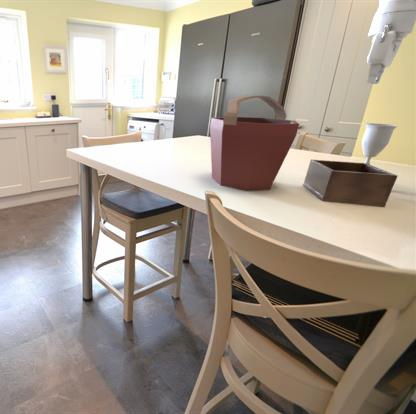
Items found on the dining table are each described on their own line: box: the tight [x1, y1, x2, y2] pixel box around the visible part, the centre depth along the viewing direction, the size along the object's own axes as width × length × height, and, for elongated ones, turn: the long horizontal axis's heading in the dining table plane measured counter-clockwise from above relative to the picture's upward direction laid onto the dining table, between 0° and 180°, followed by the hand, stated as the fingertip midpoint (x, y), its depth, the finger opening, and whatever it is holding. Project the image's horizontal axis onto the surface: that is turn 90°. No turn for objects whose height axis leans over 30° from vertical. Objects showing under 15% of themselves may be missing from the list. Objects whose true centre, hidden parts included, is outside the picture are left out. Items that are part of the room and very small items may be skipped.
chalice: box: [361, 122, 398, 165], centre depth 83 cm, size 7×7×18 cm
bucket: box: [209, 95, 300, 192], centre depth 84 cm, size 24×22×25 cm
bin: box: [303, 159, 398, 207], centre depth 76 cm, size 14×14×8 cm
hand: (372, 83), depth 82 cm, fingers open, 8 cm apart
